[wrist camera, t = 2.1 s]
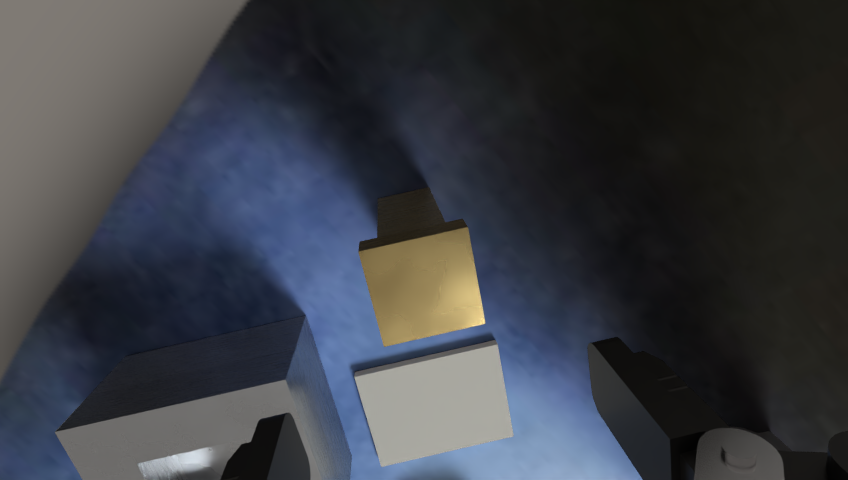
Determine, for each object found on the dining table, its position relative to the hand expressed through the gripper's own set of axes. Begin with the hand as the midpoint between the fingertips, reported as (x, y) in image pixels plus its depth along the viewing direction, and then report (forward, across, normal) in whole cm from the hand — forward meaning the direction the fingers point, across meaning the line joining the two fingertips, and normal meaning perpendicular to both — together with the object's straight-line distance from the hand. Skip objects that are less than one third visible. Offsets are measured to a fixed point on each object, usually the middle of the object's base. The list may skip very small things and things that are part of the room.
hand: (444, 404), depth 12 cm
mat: (+18, +1, +14) cm, 23 cm away
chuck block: (+18, +14, +11) cm, 25 cm away
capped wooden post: (+18, 0, 0) cm, 18 cm away
